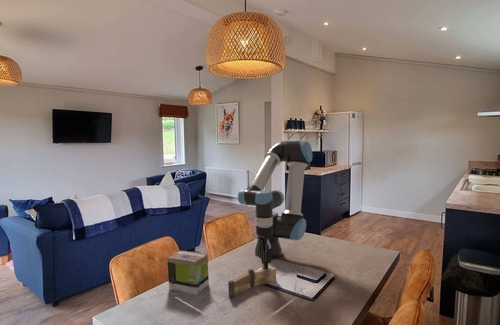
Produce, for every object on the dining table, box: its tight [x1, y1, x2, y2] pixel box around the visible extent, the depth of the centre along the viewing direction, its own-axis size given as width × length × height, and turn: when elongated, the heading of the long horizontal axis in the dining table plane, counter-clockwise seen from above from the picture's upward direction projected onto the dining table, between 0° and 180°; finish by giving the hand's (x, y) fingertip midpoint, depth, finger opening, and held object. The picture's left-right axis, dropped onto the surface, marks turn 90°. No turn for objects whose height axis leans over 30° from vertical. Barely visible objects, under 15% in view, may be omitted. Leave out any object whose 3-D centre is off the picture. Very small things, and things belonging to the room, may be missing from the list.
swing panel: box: [247, 266, 277, 288], centre depth 136 cm, size 13×2×7 cm, turn 108°
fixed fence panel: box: [227, 272, 252, 299], centre depth 130 cm, size 2×12×7 cm, turn 137°
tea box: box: [167, 250, 210, 296], centre depth 136 cm, size 15×10×15 cm, turn 65°
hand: (265, 275), depth 140 cm, fingers closed
